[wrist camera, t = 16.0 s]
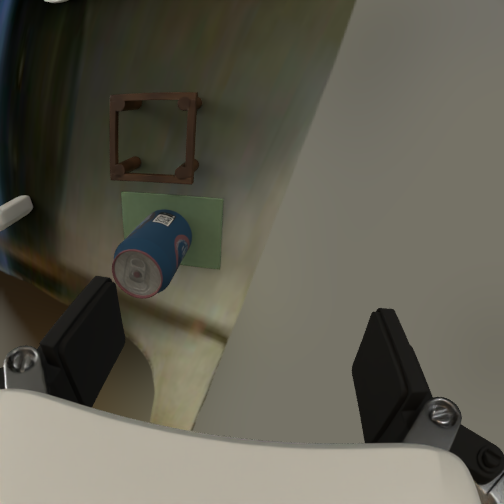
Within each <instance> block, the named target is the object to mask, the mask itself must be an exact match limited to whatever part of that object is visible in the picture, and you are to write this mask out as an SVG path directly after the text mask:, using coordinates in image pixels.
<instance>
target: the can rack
mask: <svg viewBox="0 0 504 504" xmlns="http://www.w3.org/2000/svg"><path fill="white" fill-rule="evenodd" d="M141 100H178V107H179V109H181V110H183V111H186V110H188V118H187V139H186V162H185V163H184V164H182V165H181V166H179V167H178V168H177V169H176V170H175V175H165V174H144V173H129V172H131V171H133V170H135V169H137V168H138V167H139V166H140V165H141V160H140V159H139V158H138V157H136V156H134V157H132V158H130V159H127V160H125V161H123V162H121V163H119V164H118V112H119V111H127V110H136V109H139V108H140V107H141V105H142V101H141ZM201 106H202V100H201V98H199V97H198V93H186V92H174V93H137V94H119V95H110V176H111V180H120V181H142V182H161V183H177V184H193V182H194V177H193V176H194V172H195V171H196V170H197V169H198V167H199V163H198V161H197V160H196V159H194V155H195V133H196V115H197V109H199V108H200V107H201Z"/></svg>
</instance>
